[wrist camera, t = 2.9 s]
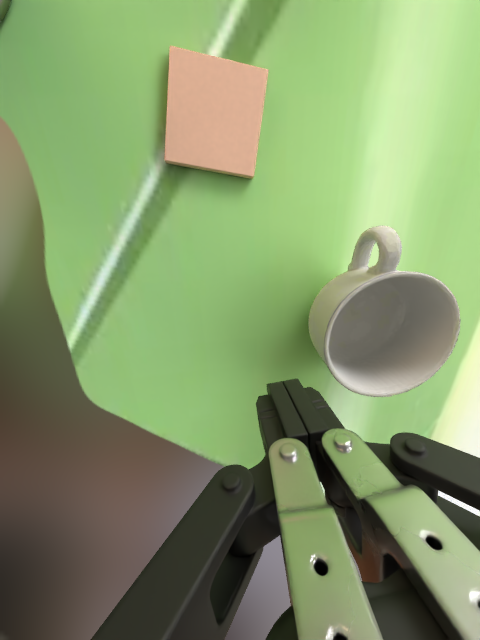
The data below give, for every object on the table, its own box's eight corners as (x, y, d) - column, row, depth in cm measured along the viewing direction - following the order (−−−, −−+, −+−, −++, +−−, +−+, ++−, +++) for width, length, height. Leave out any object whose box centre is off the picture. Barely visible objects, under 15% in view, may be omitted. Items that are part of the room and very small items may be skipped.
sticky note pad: (165, 163, 21) (164, 160, 20) (171, 52, 19) (169, 44, 18) (252, 179, 22) (254, 176, 21) (266, 75, 20) (268, 69, 19)
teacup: (382, 357, 29) (442, 397, 21) (291, 360, 28) (320, 403, 20) (406, 231, 25) (491, 225, 17) (302, 229, 24) (344, 220, 16)
